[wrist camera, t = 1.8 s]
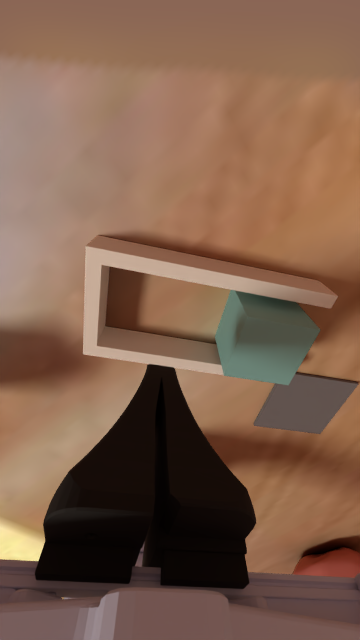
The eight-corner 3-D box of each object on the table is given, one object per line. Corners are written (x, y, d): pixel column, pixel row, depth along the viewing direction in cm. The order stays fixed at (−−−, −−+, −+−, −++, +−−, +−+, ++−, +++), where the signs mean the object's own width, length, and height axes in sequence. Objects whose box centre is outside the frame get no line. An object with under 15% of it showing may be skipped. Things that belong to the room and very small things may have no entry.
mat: (318, 431, 30) (320, 434, 30) (253, 423, 29) (254, 425, 29) (356, 381, 26) (358, 384, 26) (282, 370, 25) (283, 372, 25)
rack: (275, 363, 24) (287, 384, 22) (92, 333, 22) (83, 354, 20) (318, 280, 20) (338, 296, 18) (97, 235, 18) (85, 245, 16)
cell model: (273, 538, 45) (300, 640, 36) (393, 526, 44) (455, 630, 34) (273, 572, 54) (295, 661, 44) (373, 563, 52) (418, 653, 43)
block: (267, 345, 24) (288, 385, 19) (214, 336, 23) (224, 375, 19) (291, 296, 21) (320, 330, 17) (232, 284, 20) (247, 316, 16)
